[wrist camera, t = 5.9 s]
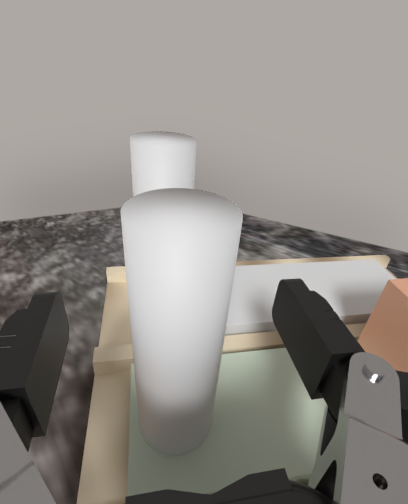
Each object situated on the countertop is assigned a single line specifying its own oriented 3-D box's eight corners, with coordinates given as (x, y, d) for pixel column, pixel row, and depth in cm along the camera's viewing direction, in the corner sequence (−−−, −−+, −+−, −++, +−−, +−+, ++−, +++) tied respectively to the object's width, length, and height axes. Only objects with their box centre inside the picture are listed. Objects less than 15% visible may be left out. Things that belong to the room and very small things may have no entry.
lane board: (377, 272, 28) (385, 254, 27) (584, 465, 15) (616, 446, 14) (109, 287, 24) (107, 267, 23) (71, 578, 11) (61, 562, 10)
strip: (370, 268, 26) (430, 136, 20) (423, 319, 21) (522, 164, 15) (134, 281, 23) (123, 124, 17) (133, 345, 18) (116, 155, 12)
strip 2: (446, 341, 20) (568, 177, 14) (548, 437, 15) (805, 247, 9) (132, 375, 16) (112, 172, 10) (128, 518, 11) (87, 286, 5)
